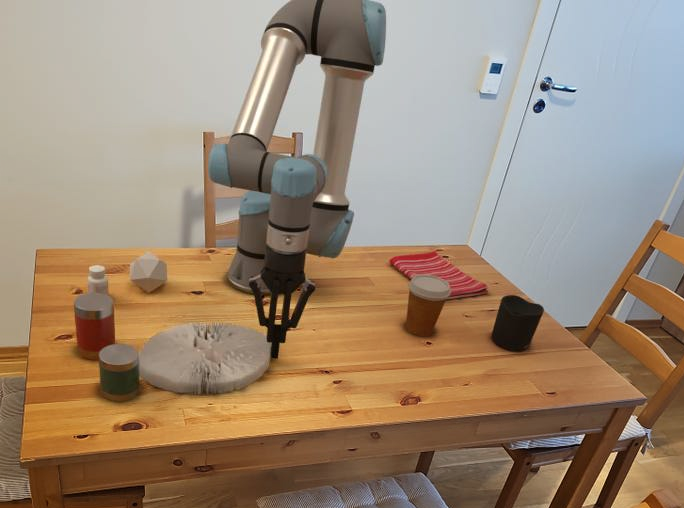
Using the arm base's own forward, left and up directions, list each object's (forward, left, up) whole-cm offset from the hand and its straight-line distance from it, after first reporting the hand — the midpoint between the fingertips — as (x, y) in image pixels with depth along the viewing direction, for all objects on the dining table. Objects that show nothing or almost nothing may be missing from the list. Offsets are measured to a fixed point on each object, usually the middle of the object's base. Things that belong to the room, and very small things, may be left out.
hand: (274, 355), depth 130 cm
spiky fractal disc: (+1, -14, -2) cm, 14 cm away
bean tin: (+13, -28, -2) cm, 31 cm away
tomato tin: (0, -35, -2) cm, 35 cm away
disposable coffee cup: (-19, +35, -2) cm, 39 cm away
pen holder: (-16, +56, -2) cm, 58 cm away
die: (-29, -29, -2) cm, 41 cm away
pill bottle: (-21, -39, -2) cm, 45 cm away
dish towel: (-48, +46, -2) cm, 66 cm away
